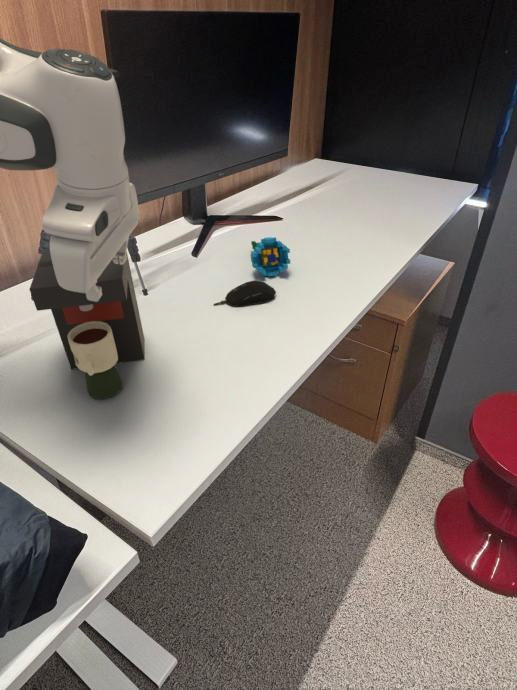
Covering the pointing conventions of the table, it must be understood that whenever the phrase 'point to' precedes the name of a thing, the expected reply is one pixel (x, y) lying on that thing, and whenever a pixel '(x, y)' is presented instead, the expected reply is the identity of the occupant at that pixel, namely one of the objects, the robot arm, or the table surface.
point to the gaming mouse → (249, 294)
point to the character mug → (96, 358)
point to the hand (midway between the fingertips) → (108, 279)
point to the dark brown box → (93, 307)
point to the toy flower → (269, 256)
